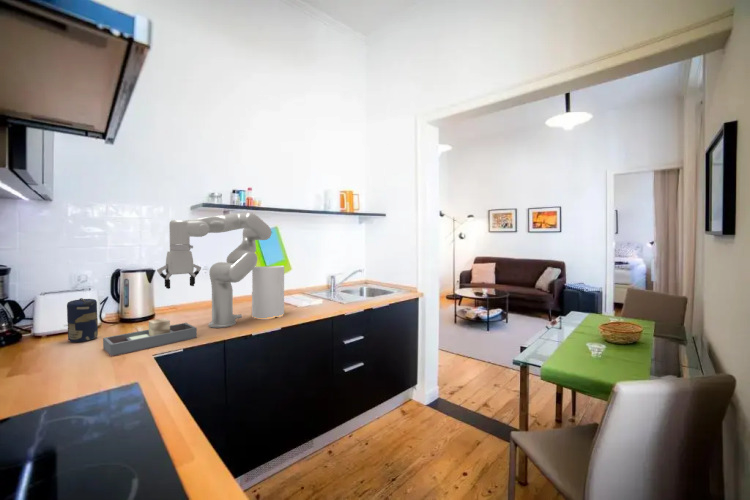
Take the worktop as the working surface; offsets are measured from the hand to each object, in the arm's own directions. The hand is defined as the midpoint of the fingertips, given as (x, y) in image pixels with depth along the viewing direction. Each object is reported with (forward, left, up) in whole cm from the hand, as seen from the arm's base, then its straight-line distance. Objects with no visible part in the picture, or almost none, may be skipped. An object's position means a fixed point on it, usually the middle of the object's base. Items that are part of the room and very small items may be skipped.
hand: (180, 287), depth 143 cm
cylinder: (-47, -6, -23) cm, 53 cm away
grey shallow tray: (+11, 0, -22) cm, 25 cm away
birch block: (+8, 0, -19) cm, 21 cm away
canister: (+29, -26, -23) cm, 45 cm away
